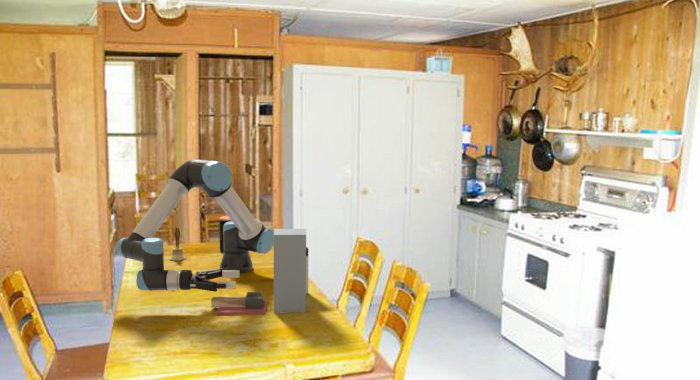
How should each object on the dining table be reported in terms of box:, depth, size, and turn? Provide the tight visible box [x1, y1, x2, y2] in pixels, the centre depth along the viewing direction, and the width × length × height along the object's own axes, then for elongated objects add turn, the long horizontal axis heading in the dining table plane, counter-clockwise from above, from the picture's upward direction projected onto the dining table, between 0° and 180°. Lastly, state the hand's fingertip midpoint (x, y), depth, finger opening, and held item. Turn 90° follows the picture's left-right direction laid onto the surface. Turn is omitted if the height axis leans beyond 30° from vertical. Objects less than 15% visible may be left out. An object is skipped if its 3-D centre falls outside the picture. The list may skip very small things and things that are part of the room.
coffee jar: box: [218, 215, 231, 254], centre depth 302 cm, size 11×11×18 cm
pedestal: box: [273, 228, 307, 314], centre depth 219 cm, size 10×12×30 cm
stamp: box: [210, 291, 264, 309], centre depth 219 cm, size 8×19×4 cm, turn 95°
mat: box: [215, 299, 268, 316], centre depth 220 cm, size 13×18×1 cm
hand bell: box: [168, 226, 187, 262], centre depth 285 cm, size 8×8×16 cm
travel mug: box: [306, 246, 309, 296], centre depth 236 cm, size 6×7×20 cm
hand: (237, 279), depth 218 cm, fingers open, 13 cm apart
